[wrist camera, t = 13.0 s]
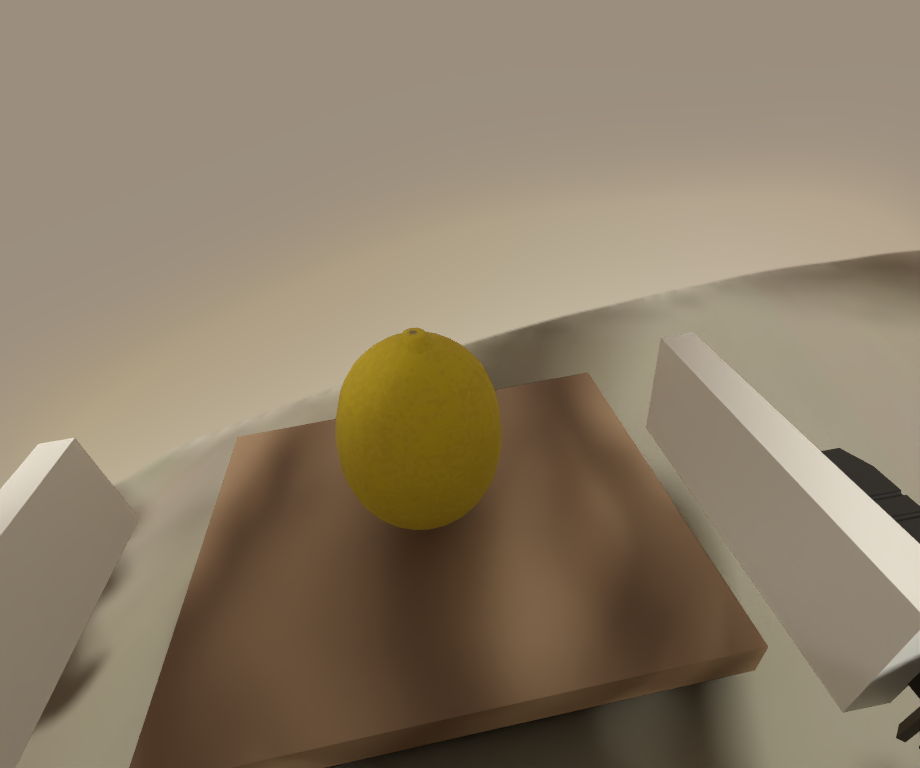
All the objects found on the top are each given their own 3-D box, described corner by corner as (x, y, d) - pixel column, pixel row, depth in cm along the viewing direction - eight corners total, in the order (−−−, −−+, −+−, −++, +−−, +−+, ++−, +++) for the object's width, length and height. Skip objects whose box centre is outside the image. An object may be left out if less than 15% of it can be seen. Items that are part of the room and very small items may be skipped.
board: (586, 395, 26) (587, 372, 25) (754, 670, 15) (768, 646, 14) (248, 458, 25) (237, 437, 24) (149, 807, 13) (121, 791, 13)
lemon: (391, 450, 21) (372, 282, 17) (511, 480, 20) (527, 305, 15) (324, 550, 17) (274, 362, 13) (470, 598, 16) (475, 405, 11)
